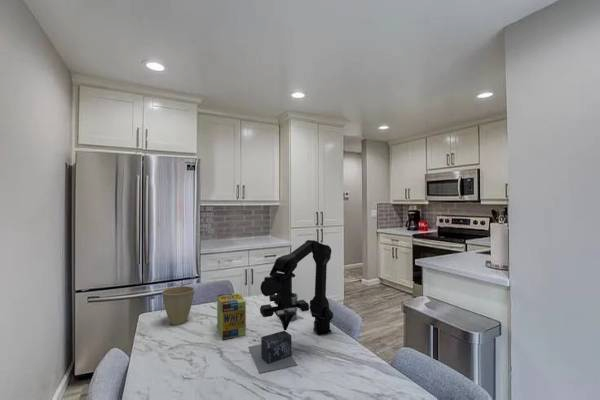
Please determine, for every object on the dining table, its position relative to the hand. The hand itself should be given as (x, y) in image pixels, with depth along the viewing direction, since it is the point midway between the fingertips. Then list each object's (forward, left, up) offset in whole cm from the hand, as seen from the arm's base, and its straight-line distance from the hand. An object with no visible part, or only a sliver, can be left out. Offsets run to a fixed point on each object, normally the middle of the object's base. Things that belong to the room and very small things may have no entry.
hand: (285, 329), depth 113 cm
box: (-1, +1, -5) cm, 5 cm away
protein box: (+17, -28, -9) cm, 34 cm away
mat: (+6, 0, -9) cm, 11 cm away
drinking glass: (-12, -32, -9) cm, 35 cm away
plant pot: (+40, -49, -9) cm, 64 cm away
